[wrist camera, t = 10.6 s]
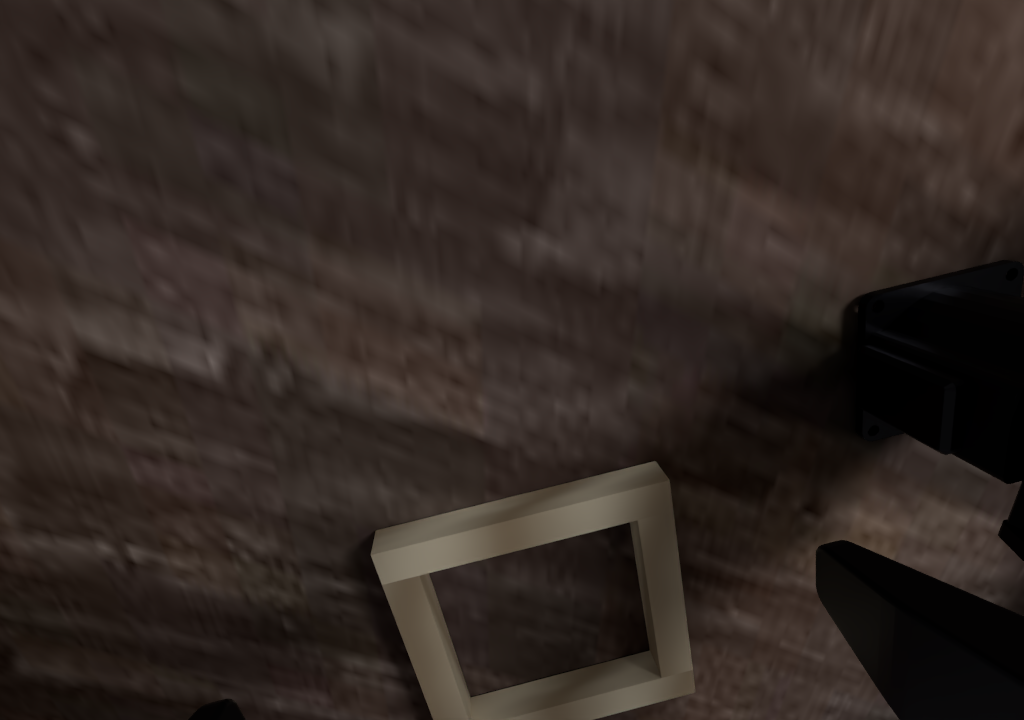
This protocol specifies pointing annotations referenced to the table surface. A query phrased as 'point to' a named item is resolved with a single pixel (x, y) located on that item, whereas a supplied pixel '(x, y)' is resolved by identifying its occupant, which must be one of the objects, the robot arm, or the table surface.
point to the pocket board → (527, 523)
